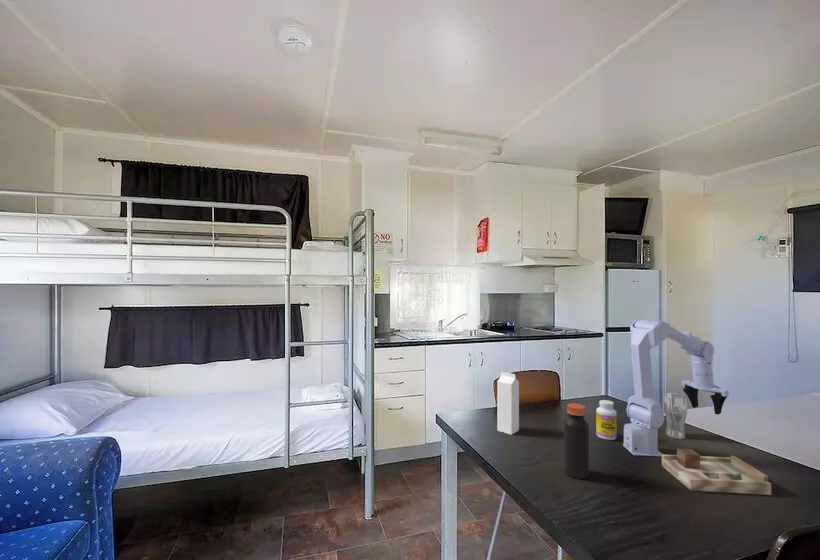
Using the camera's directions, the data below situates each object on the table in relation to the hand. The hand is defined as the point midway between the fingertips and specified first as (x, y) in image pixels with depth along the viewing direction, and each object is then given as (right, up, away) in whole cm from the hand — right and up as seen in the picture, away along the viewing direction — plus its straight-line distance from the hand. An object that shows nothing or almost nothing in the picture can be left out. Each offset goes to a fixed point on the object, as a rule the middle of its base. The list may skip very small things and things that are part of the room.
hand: (706, 410), depth 135 cm
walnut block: (-25, -8, -24) cm, 36 cm away
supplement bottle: (-35, -11, +2) cm, 37 cm away
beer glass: (-9, -11, +3) cm, 14 cm away
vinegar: (-58, -10, -25) cm, 64 cm away
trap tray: (-20, -10, -27) cm, 35 cm away
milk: (-70, -11, +8) cm, 71 cm away
